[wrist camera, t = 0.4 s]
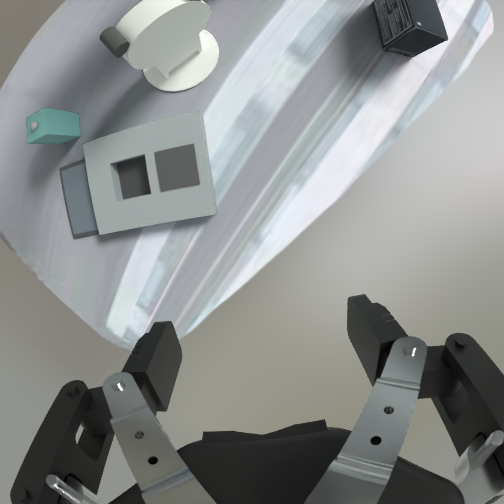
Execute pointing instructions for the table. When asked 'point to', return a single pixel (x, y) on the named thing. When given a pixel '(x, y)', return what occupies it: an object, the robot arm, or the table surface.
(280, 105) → the table surface
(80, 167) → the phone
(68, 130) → the teal knobbed block
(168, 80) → the white curved stand
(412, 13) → the small box
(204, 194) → the plate
